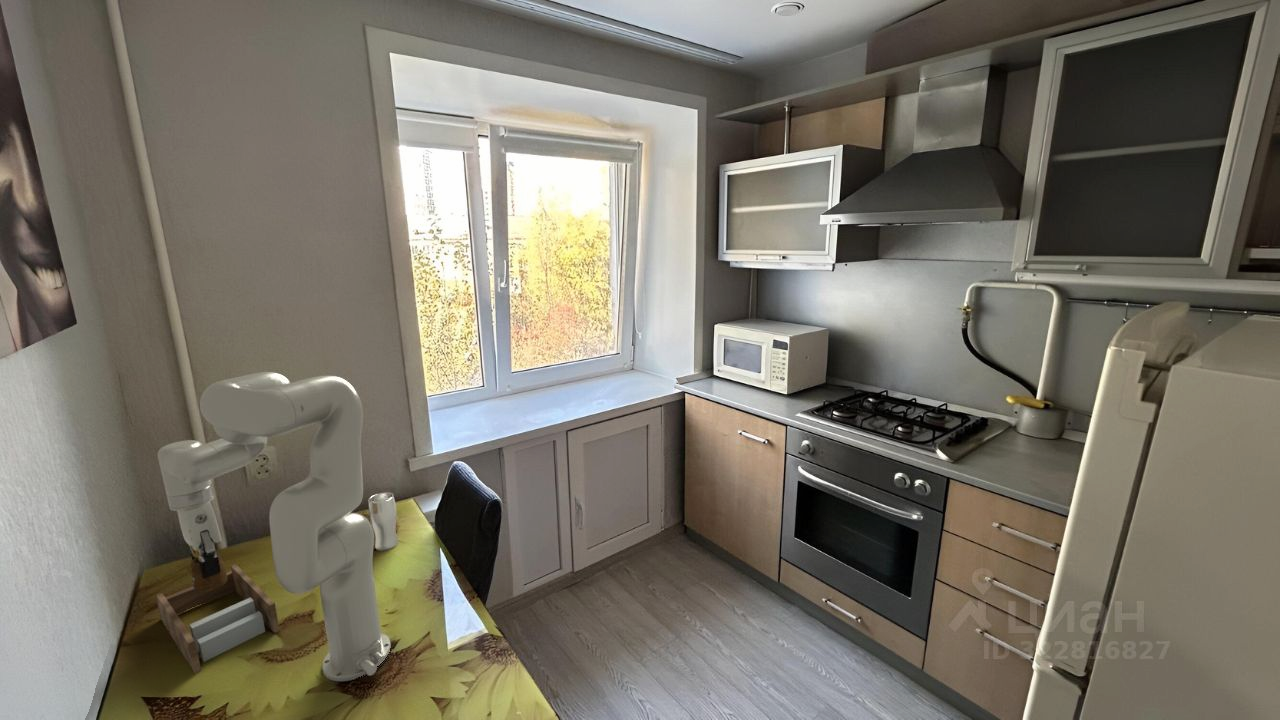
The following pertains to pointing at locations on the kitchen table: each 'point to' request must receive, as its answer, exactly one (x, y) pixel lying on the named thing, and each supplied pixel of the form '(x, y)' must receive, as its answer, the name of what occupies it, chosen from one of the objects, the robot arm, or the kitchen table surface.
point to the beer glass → (383, 520)
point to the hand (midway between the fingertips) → (207, 570)
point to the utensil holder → (210, 582)
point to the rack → (191, 598)
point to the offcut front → (230, 636)
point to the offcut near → (221, 619)
